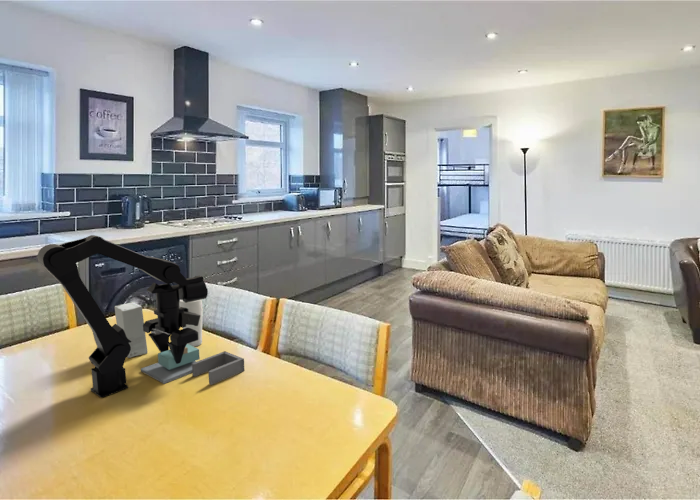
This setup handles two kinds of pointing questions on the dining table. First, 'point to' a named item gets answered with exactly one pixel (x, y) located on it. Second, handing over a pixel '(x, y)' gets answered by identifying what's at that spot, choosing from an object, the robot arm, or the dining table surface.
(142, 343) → the skincare box
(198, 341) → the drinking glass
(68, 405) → the dining table surface
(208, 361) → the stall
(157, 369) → the mat
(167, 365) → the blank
